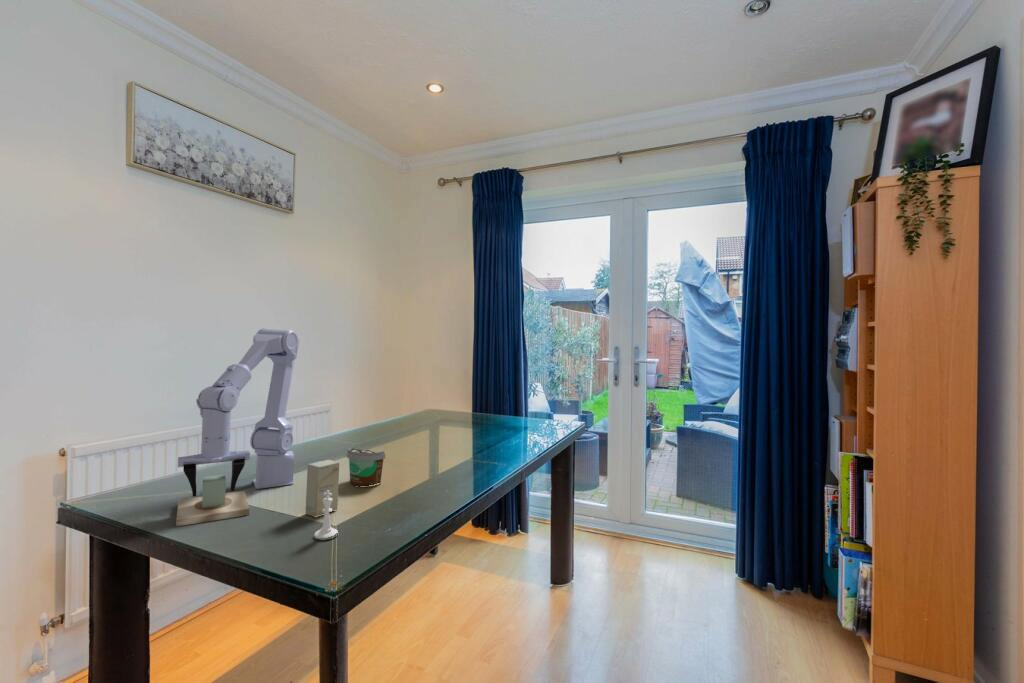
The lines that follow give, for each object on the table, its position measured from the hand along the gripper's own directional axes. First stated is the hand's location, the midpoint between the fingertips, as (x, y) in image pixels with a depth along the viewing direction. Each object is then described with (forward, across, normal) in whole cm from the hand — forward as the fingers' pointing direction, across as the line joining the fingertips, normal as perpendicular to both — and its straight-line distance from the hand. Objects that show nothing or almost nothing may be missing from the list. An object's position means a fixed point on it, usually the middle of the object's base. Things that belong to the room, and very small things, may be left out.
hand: (213, 492), depth 111 cm
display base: (+4, 0, 0) cm, 4 cm away
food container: (+4, +36, +3) cm, 36 cm away
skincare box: (+4, +22, -13) cm, 26 cm away
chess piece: (+4, +20, -27) cm, 34 cm away
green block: (+2, 0, 0) cm, 2 cm away
